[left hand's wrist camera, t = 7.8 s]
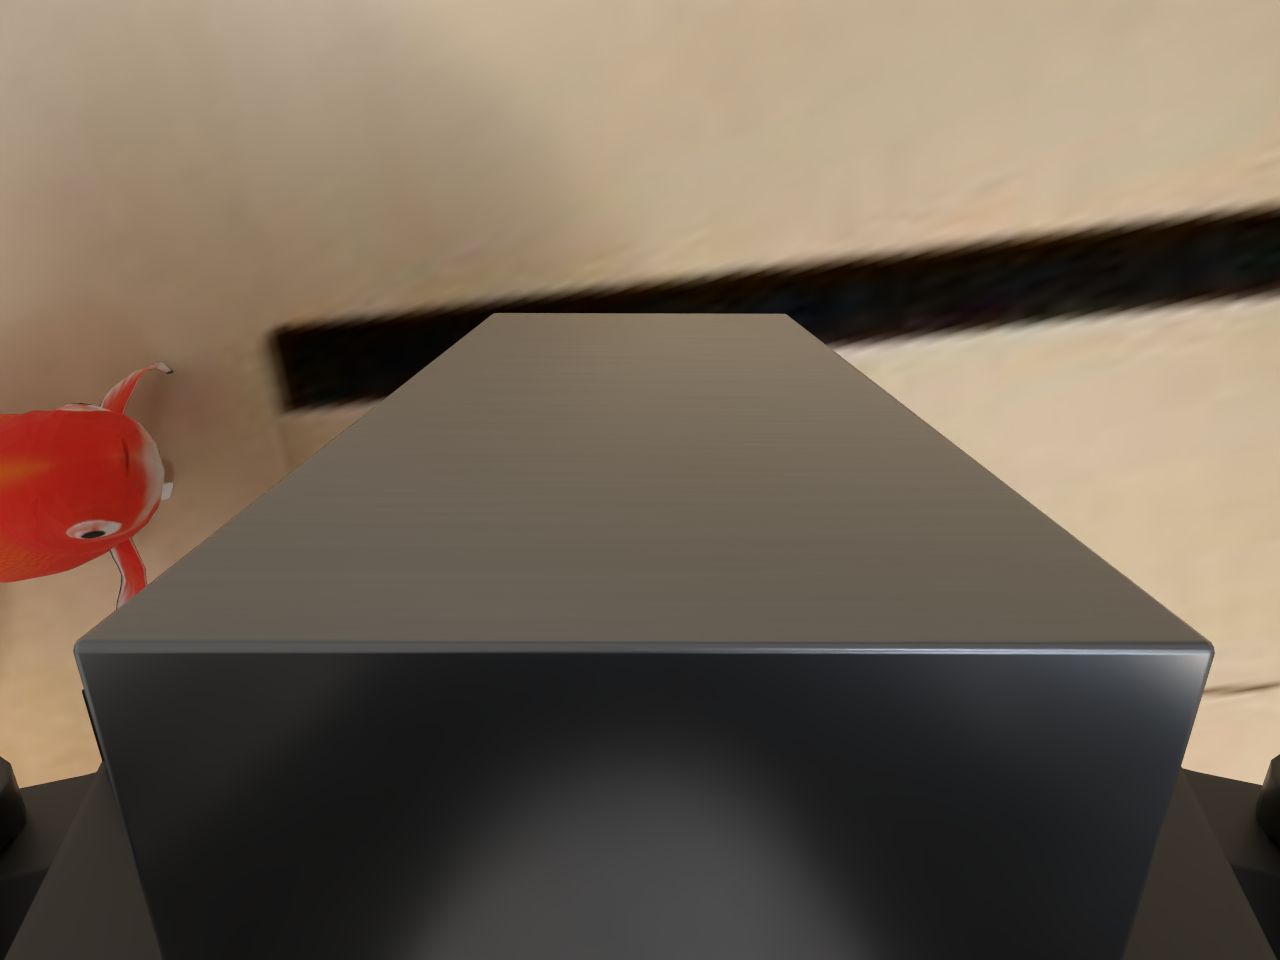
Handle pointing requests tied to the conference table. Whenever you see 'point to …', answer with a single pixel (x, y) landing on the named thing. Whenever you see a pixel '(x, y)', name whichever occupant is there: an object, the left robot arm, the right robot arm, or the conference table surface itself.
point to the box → (642, 678)
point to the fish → (78, 488)
